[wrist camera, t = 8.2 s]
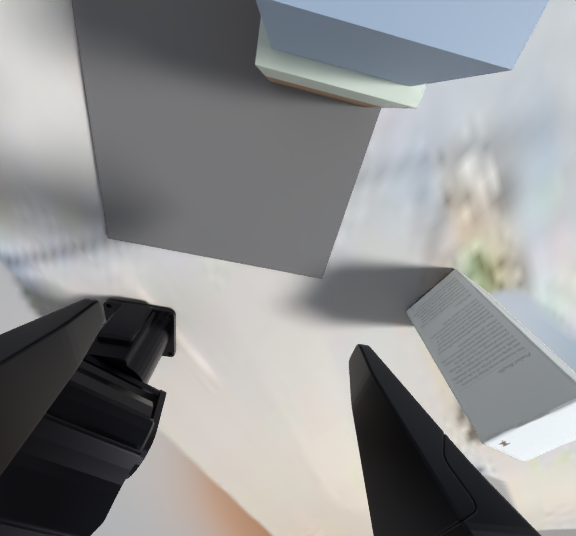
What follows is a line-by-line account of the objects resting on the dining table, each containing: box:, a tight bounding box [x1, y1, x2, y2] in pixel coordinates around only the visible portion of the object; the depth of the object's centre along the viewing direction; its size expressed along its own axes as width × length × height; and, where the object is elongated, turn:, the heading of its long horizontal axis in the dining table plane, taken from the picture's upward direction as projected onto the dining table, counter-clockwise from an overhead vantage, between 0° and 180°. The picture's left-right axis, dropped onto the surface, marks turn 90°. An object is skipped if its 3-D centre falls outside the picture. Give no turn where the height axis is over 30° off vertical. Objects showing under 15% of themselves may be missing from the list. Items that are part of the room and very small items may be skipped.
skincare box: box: [406, 269, 576, 462], centre depth 20 cm, size 6×4×12 cm
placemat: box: [72, 0, 381, 279], centre depth 16 cm, size 24×18×1 cm
